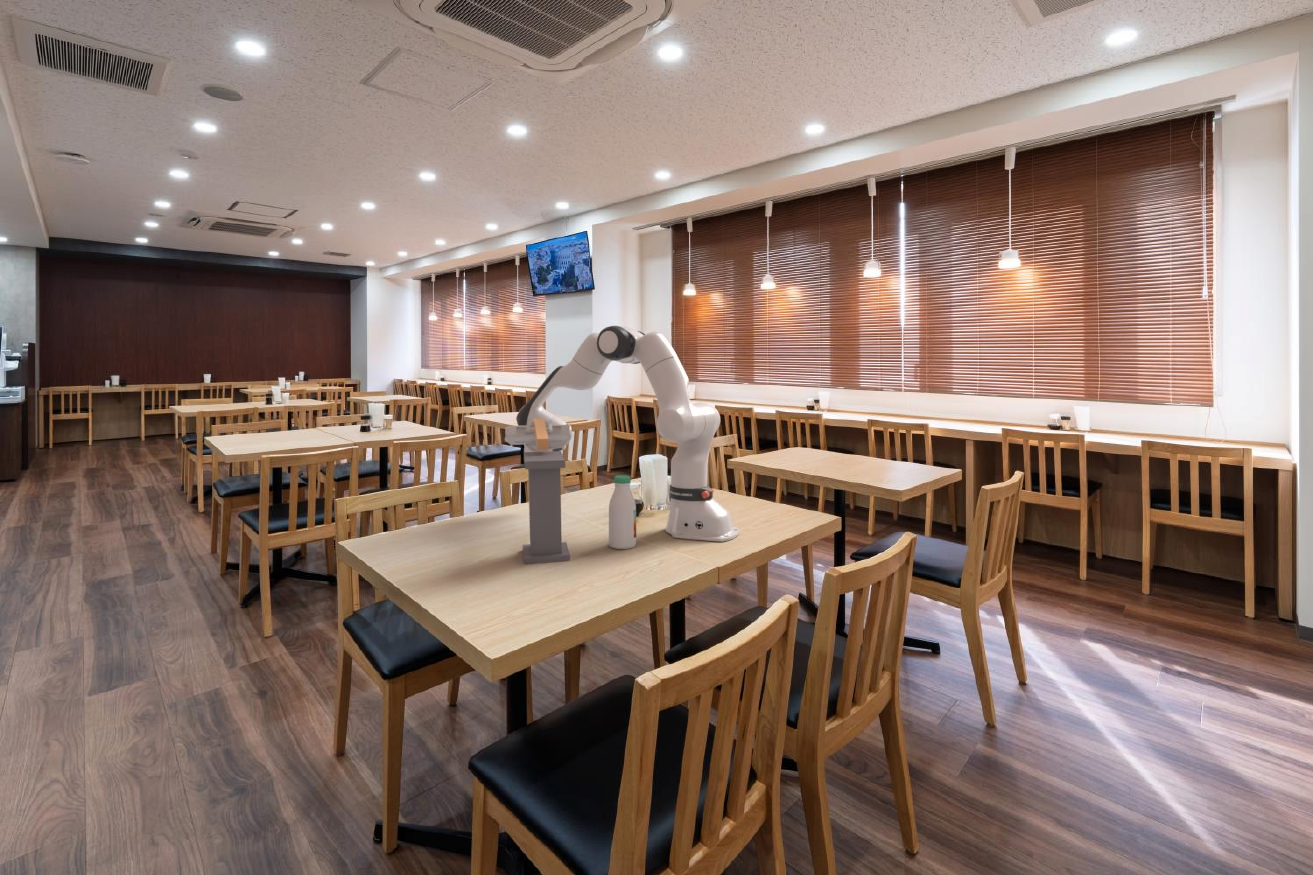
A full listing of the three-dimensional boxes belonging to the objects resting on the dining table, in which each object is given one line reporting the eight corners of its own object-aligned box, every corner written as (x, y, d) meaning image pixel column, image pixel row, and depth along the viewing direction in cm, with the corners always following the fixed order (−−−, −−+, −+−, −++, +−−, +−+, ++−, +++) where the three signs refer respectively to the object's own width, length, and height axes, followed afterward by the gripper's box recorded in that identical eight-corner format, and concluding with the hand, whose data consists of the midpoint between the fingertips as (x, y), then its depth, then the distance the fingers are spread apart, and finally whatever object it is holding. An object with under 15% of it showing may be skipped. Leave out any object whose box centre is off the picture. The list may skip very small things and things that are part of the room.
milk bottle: (630, 551, 175) (629, 479, 173) (604, 548, 178) (603, 477, 175) (640, 543, 183) (640, 474, 180) (615, 540, 185) (615, 472, 183)
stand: (522, 547, 178) (520, 452, 175) (565, 545, 181) (564, 450, 177) (523, 566, 163) (520, 461, 159) (570, 562, 165) (569, 460, 162)
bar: (534, 428, 194) (533, 418, 194) (543, 428, 195) (543, 418, 194) (537, 449, 170) (537, 438, 169) (548, 449, 170) (548, 438, 170)
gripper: (504, 433, 203) (503, 414, 190) (569, 431, 207) (572, 413, 195) (505, 451, 200) (503, 434, 188) (570, 449, 205) (573, 432, 192)
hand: (539, 423), depth 191 cm, fingers closed on bar, 3 cm apart
